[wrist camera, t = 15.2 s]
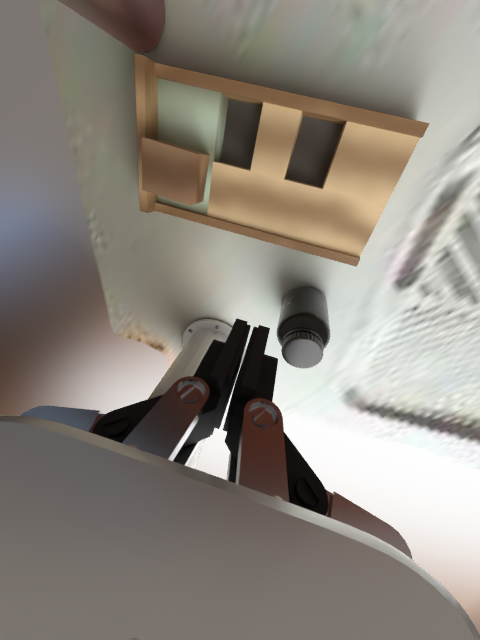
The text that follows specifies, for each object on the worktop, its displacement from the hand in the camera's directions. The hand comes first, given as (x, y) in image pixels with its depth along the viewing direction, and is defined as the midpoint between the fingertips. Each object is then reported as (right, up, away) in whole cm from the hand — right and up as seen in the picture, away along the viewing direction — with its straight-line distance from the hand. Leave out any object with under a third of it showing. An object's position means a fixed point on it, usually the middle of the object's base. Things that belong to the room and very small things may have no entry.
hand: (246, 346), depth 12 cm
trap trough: (+3, +19, +18) cm, 27 cm away
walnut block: (-7, +19, +17) cm, 27 cm away
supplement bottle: (+10, +4, +26) cm, 28 cm away
